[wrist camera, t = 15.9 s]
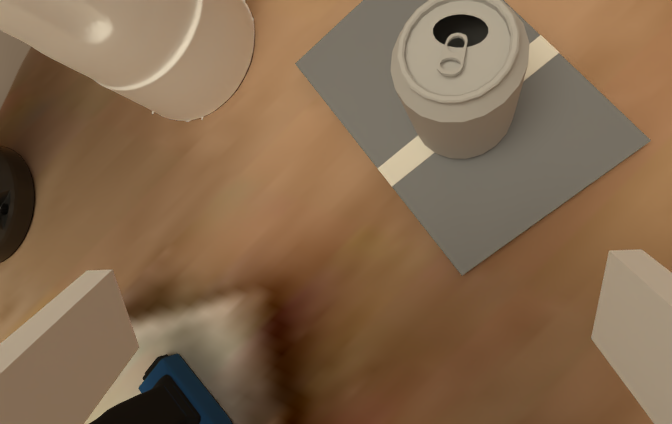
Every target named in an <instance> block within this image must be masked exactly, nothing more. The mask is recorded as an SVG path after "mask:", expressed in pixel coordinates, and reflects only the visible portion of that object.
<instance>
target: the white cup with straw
mask: <svg viewBox="0 0 672 424" xmlns="http://www.w3.org/2000/svg"><path fill="white" fill-rule="evenodd" d="M253 21H254V18H253V17H252V14H251V12H250V10H249V8H248V5H247V4H246V2H245V0H0V31H2V32H4V33H6V34H8V35H10V36H12V37H14V38H16V39H18V40H20V41H22V42H24V43H26V44H28V45H30V46H31V47H33V48H34V49H36V50H37V51H39V52H40V53H42V54H44V55H46V56H48V57H49V58H51V59H53V60H55V61H57V62H59V63H61V64H63V65H65V66H67V67H69V68H71V69H73V70H75V71H77V72H79V73H81V74H83V75H85V76H87V77H89V78H91V79H93V80H94V81H95V82H97V83H98V84H100V85H101V86H103V87H105V88H108V89H110V90H112V91H114V92H116V93H118V94H120V95H122V96H124V97H126V98H128V99H130V100H132V101H134V102H136V103H138V104H140V105H142V106H144V107H146V108H148V109H150V110H152V115H153V113H154V112H155V113H157V114H159V115H160V116H162V117H165V118H168V119H171V120H176V121H178V120H179V121H186V122H189V121H191V120H194V119H197V118H202V120H203V117H204V116H205V115H208V114H210V113H212V112H214V111H215V110H216V109H217V108H219V107H220V106H221V105H222V104H224V103H225V102H226V101H227V100H228V99H229V98H230V97H231V96H232V94H233V93H235V91H236V89H237V88H238V87H239V85H240V83H241V82H242V80H243V78H244V77H245V74H246V71H247V69H248V67H249V65H250V62H251V57H252V54H253V48H254V35H255V32H254V22H253Z"/></svg>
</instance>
